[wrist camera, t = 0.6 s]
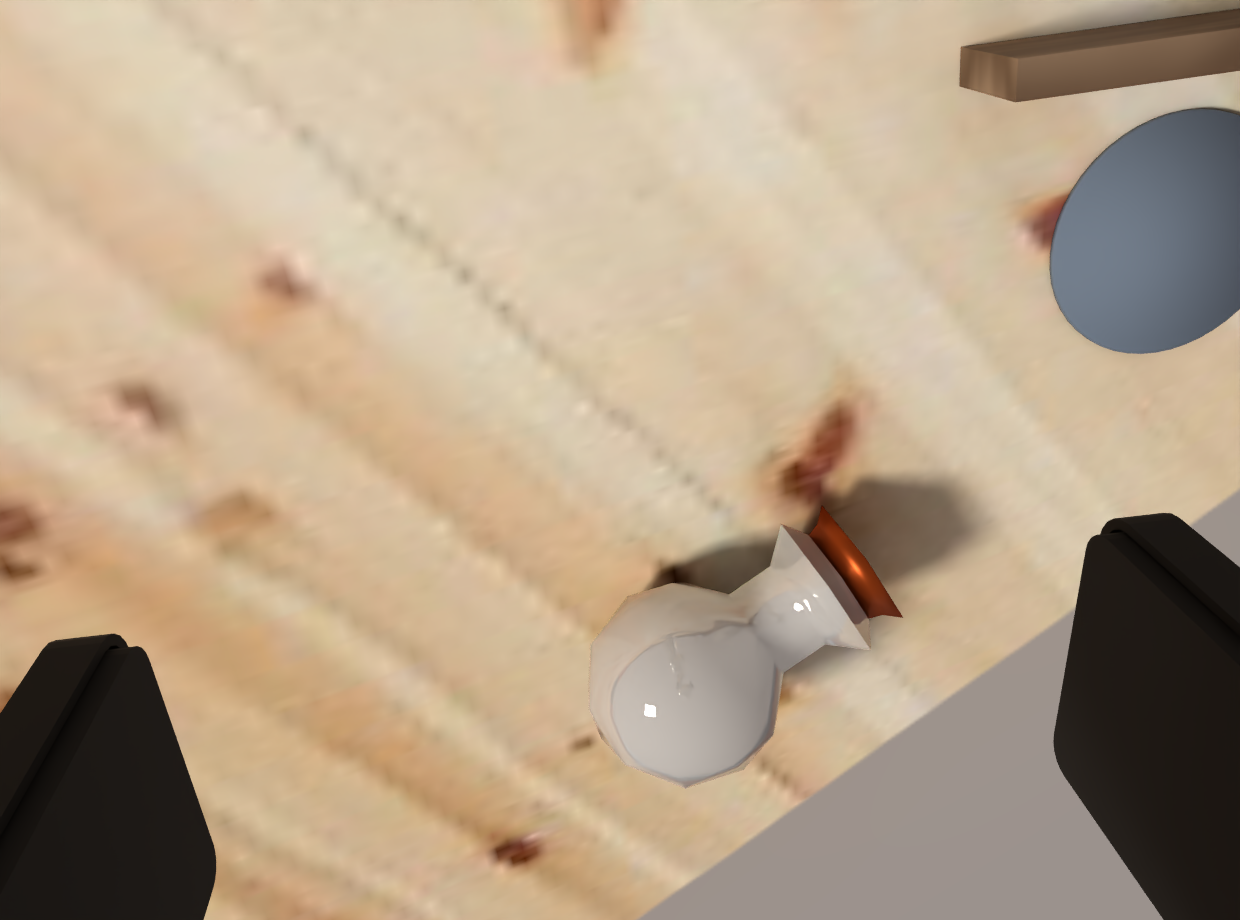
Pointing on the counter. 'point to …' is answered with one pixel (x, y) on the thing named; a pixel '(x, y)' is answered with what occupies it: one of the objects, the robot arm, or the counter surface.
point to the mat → (1153, 235)
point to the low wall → (1104, 57)
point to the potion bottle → (725, 655)
